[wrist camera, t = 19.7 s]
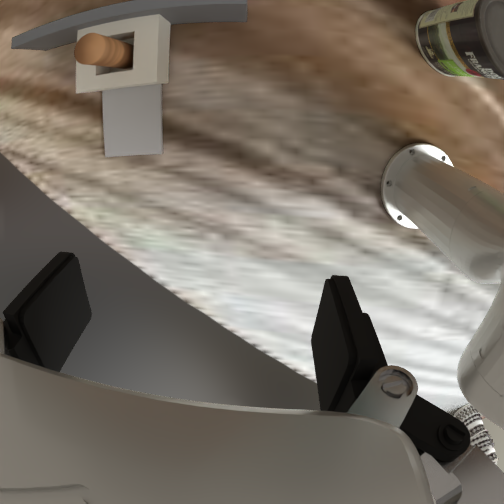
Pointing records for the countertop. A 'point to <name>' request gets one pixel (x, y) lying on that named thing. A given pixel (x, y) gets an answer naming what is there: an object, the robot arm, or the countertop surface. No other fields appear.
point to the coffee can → (464, 38)
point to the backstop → (139, 97)
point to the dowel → (104, 51)
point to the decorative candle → (477, 430)
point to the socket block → (144, 58)
